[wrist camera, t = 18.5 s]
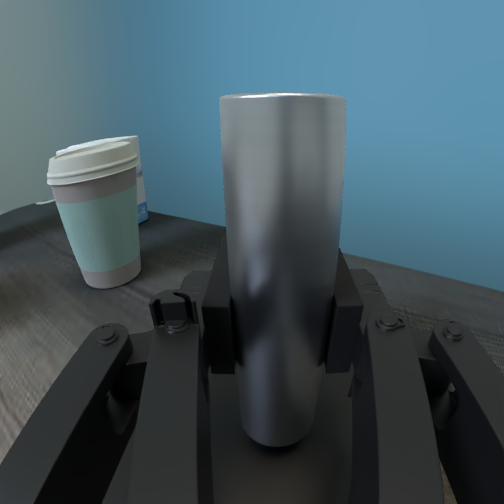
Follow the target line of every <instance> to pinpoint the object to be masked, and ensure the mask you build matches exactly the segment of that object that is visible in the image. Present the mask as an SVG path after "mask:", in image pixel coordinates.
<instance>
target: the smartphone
mask: <svg viewBox="0 0 504 504" xmlns="http://www.w3.org/2000/svg"><path fill="white" fill-rule="evenodd" d="M353 375H354V368H353V364H352V362H351V366H350V370H349V372H347V373H330V374H326V369H325V363H324V364H323V370H322V376H321V382H320V387H319V393H318V398H317V403H316V408H315V413H314V418H313V423H312V426H311V429H310V430H309V432H308V433H307V434H306V436H305V437H303V438H302V439H301V440H300V442H299V443H298V444H297V445H295V446H294V447H292V448H291V449H288V450H285V451H280V452H273V451H267V450H265V449H262V448H261V447H259V446H258V445H256V444H255V443H254V441H253V440H252V438H251V437H250V436H249V435H248V434H247V433H246V431H245V430H244V428H243V425H242V418H241V408H240V398H239V387H238V376H237V365H236V368H235V375H231V374H211V368H210V366H209V371H208V379H209V385H210V428H211V456H212V478H213V496H214V504H349V502H350V495H351V473H352V395H351V397H348V393H349V389H350V385H351V382H352V378H353ZM135 430H136V426H135V429H134V431H133V433H132V435H131V438H130V440H129V442H128V444H127V447H126V449H125V451H124V453H123V456H122V458H121V460H120V462H119V465H118V467H117V469H116V472H115V474H114V476H113V479H112V481H111V483H110V486H109V488H108V490H107V493H106V495H105V497H104V500H103V502H102V504H127V495H128V485H129V476H130V468H131V459H132V452H133V444H134V437H135Z"/></svg>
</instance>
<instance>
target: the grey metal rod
mask: <svg viewBox="0 0 504 504" xmlns="http://www.w3.org/2000/svg"><path fill="white" fill-rule="evenodd" d="M219 101H220V125H221V144H222V164H223V165H222V166H223V183H224V201H225V218H226V233H227V249H228V263H229V277H230V291H231V301H232V314H233V326H234V339H235V351H236V365H237V376H238V387H239V398H240V408H241V418H242V425H243V428H244V430H245V431H246V433H247V434H248V435H249V436H250V437H251V438H252V440H253V441H254V443H255V444H256V445H258V446H259V447H261V448H262V449H265V450H267V451H273V452H280V451H285V450H288V449H291V448H292V447H294V446H295V445H297V444H298V443H299V442H300V440H301V439H302V438H303V437H305V436H306V434H307V433H308V432H309V430H310V429H311V426H312V423H313V418H314V413H315V408H316V403H317V398H318V393H319V387H320V382H321V376H322V370H323V364H324V358H325V352H326V346H327V339H328V332H329V325H330V318H331V311H332V303H333V295H334V287H335V279H336V270H337V260H338V250H339V239H340V227H341V215H342V201H343V184H344V163H345V162H344V161H345V134H346V133H345V132H346V100H345V98H344V97H342V96H337V95H328V94H313V93H249V94H234V95H226V96H222V97H221V98H220V100H219Z"/></svg>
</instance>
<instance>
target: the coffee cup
mask: <svg viewBox="0 0 504 504" xmlns="http://www.w3.org/2000/svg"><path fill="white" fill-rule="evenodd" d="M138 164H139V161H138V160H137V154H136V153H135V152H134V150H133V147H132V145H131V142H128V141H123V142H113V143H106V144H100V145H95V146H90V147H85V148H81V149H77V150H73V151H70V152H66V153H63V154H60V155H57V156H55V157H53V158H51V159H50V160H49V170H48V173H47V177H48V181H47V184H48V185H51V188H52V191H53V194H54V198H55V201H56V204H57V207H58V210H59V213H60V216H61V219H62V222H63V225H64V228H65V231H66V233H67V236H68V239H69V242H70V244H71V247H72V249H73V252H74V255H75V257H76V260H77V262H78V265H79V267H80V269H81V272H82V274H83V276H84V279H85V281H86V283H87V284H88V285H89V286H91V287H94V288H100V289H106V288H113V287H117V286H120V285H123V284H125V283H127V282H129V281H131V280H132V279H134V278H135V277H136V276H137V275H138V274H139V272H140V270H141V261H140V246H139V230H138V210H137V178H136V165H138Z"/></svg>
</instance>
